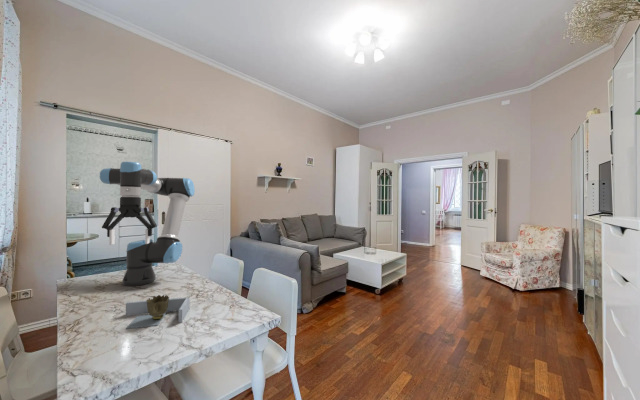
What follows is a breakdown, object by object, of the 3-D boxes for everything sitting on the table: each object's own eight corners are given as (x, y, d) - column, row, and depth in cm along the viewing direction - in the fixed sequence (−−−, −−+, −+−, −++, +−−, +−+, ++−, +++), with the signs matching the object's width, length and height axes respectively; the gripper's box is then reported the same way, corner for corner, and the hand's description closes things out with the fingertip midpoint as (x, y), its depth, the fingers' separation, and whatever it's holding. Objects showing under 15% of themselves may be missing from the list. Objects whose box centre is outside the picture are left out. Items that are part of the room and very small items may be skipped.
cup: (155, 324, 93) (155, 303, 93) (141, 321, 96) (141, 300, 96) (173, 316, 100) (173, 296, 100) (160, 313, 103) (160, 293, 103)
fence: (127, 314, 102) (127, 302, 102) (189, 308, 108) (190, 296, 108) (110, 330, 90) (110, 316, 90) (182, 322, 96) (182, 309, 96)
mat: (138, 316, 100) (138, 315, 100) (166, 313, 103) (166, 312, 103) (126, 329, 91) (126, 327, 91) (157, 325, 93) (157, 324, 93)
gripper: (91, 196, 105) (91, 246, 105) (159, 197, 112) (158, 244, 112) (102, 196, 112) (101, 243, 113) (164, 197, 119) (164, 241, 119)
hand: (130, 244), depth 112 cm, fingers open, 13 cm apart
